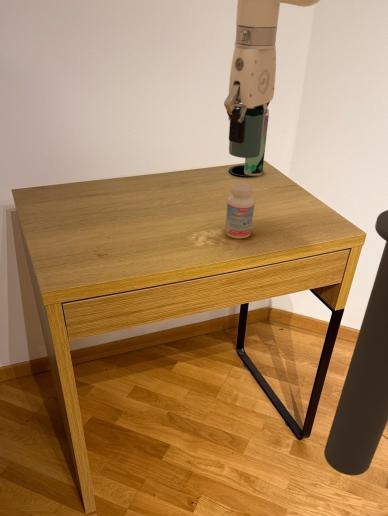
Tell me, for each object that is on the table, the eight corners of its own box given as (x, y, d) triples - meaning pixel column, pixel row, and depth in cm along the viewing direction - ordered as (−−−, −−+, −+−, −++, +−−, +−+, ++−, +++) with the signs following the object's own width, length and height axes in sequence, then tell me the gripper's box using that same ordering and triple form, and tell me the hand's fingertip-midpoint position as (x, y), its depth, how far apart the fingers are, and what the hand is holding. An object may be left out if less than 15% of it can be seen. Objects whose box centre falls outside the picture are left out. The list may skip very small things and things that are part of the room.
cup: (251, 146, 107) (255, 106, 102) (266, 156, 103) (271, 115, 98) (223, 149, 105) (225, 109, 100) (237, 159, 100) (240, 117, 95)
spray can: (241, 170, 149) (247, 98, 136) (257, 169, 150) (265, 97, 138) (248, 177, 145) (255, 103, 132) (265, 175, 146) (273, 101, 134)
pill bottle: (229, 240, 113) (233, 192, 106) (222, 228, 117) (225, 182, 110) (254, 238, 114) (259, 191, 107) (246, 227, 118) (251, 180, 111)
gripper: (246, 44, 84) (237, 151, 95) (296, 35, 95) (283, 132, 106) (211, 39, 87) (206, 143, 98) (263, 31, 98) (253, 125, 109)
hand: (246, 137), depth 102 cm, fingers closed on cup, 7 cm apart
